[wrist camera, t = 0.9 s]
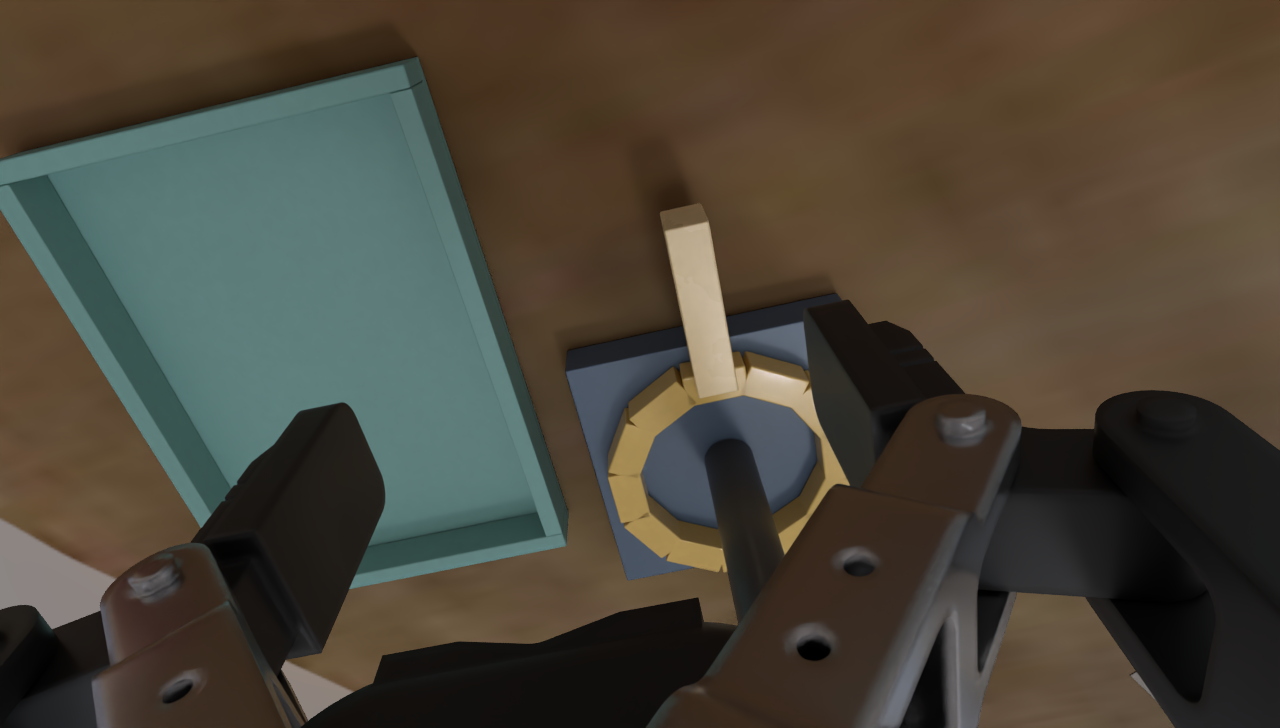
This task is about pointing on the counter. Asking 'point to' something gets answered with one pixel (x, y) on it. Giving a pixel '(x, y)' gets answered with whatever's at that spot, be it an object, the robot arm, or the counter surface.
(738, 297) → the counter surface
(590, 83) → the counter surface
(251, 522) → the robot arm
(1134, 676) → the platform
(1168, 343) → the counter surface
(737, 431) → the key stand
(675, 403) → the ring
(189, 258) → the key tray
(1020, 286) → the counter surface
